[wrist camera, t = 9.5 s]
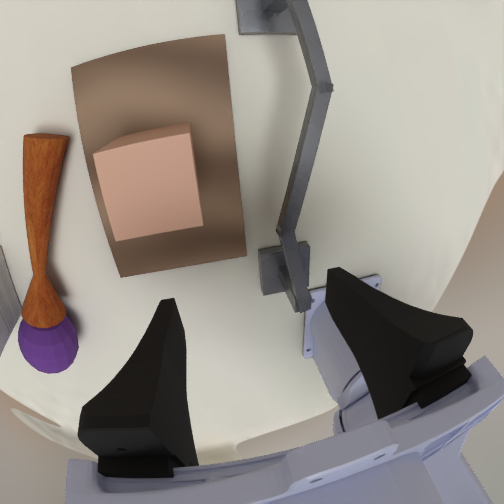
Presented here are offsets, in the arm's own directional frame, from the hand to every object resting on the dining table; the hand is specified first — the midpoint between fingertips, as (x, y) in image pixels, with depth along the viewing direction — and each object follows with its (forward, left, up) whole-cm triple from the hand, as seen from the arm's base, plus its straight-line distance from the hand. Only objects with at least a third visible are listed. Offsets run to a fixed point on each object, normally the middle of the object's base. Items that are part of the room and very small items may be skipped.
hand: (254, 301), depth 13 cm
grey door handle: (+5, -4, -9) cm, 11 cm away
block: (+5, +4, -9) cm, 11 cm away
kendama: (0, +15, -10) cm, 18 cm away
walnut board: (+5, +4, -9) cm, 11 cm away
